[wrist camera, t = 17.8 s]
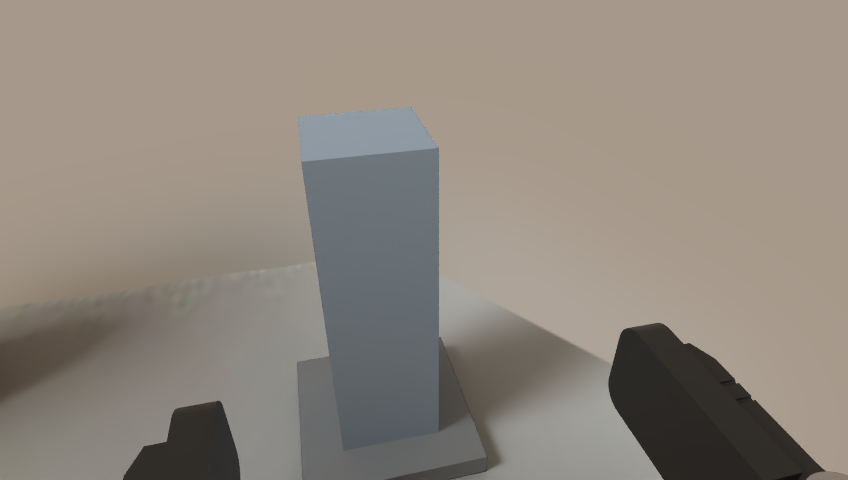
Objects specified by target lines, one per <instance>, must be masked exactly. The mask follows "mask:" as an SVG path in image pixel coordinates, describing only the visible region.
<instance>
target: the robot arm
mask: <svg viewBox="0 0 848 480" xmlns="http://www.w3.org/2000/svg"><path fill="white" fill-rule="evenodd" d="M609 392H610V396H611V400H612V402H613V404H614V406H615V408H616V410H617V411H618V413H619V414H620V416H621V417H622V419H623V420H624V422H625V423H626V425H627V426H628V428H629V429H630V430H631V432H632V433H633V435H634V436H635V438H636V439H637V441H638V442H639V444H640V445H641V447H642V448H643V450H644V451H645V453H646V454H647V455H648V457H649V458H650V460H651V461H652V463H653V464H654V466H655V467H656V469H657V470H658V472H659V473H660V475H661V476H662V478H663V479H664V480H848V476H847V475H845V474H841V473H837V472H826V471H825V470H824V469H822V468H821V467H820V466H819V465H818V464H817V463H816V462H815V461H814V460H813V459H812V458H811V457H810V456H809V455H808V454H807V453H806V452H805V451H804V450H803V449H802V448H801V447H800V446H799V445H798V444H797V443H796V442H795V441H794V439H793V438H792V437H791V436H789V434H788V433H787V432H786V431H785V430H784V429H783V428H782V427H781V426H780V425H779V424H778V423H777V422H776V421H775V420H774V419H773V418H772V417H771V416H770V415H769V414H768V413H767V412H766V411H765V410H764V409H763V408H762V407H761V406H760V405H759V404H758V402H757V401H756V400H754V401H753V400H752V399H751V395H750V394H749V393H748V392H747V391H746V390H745V389H744V388H743V387H742V386H741V385H740V384H739V383H738V384H736V383H735V379H734V378H733V377H732V376H731V375H730V374H729V373H728V372H727V371H726V370H725V369H724V367H723V366H722V365H721V364H719V362H718V361H717V360H716V359H714V358H713V357H711V356H710V355H708V354H706V353H705V352H703V351H701V350H700V349H698V348H697V347H695V346H693V345H692V344H690V343H688V344H683V343H682V342H681V341H680V340H679V339H678V338H677V337H676V336H675V334H674V333H673V332H672V331H671V330H670V329H669V328H668V327H667V326H665V325H664V324H661V323H655V324H649V325H644V326H638V327H632V328H627V329H624V330H623V331H622V333H621V335H620V338H619V342H618V346H617V349H616V353H615V357H614V361H613V365H612V369H611V372H610V376H609ZM123 480H240V467H239V460H238V454H237V451H236V447H235V444H234V441H233V438H232V434H231V431H230V428H229V425H228V421H227V418H226V415H225V412H224V408H223V405H222V403H221V402H220V401H216V402H210V403H205V404H199V405H193V406H188V407H182V408H177V409H175V410H174V412H173V415H172V418H171V423H170V428H169V433H168V438H167V442H164V443H159V444H154V445H149V446H144V447H143V449H142V450H141V452H140V453H139V455H138V456H137V458H136V459H135V460H134V462H133V463H132V465H131V466H130V468H129V469H128V471H127V472H126V474H125V475H124V478H123Z"/></svg>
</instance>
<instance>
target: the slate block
mask: <svg viewBox="0 0 848 480" xmlns="http://www.w3.org/2000/svg"><path fill="white" fill-rule="evenodd" d="M298 127H299V138H300V152H301V163H302V170H303V177H304V184H305V190H306V197H307V204H308V211H309V218H310V225H311V231H312V238H313V245H314V252H315V259H316V266H317V273H318V279H319V286H320V293H321V300H322V307H323V313H324V320H325V327H326V334H327V341H328V348H329V354H330V361H331V368H332V375H333V382H334V389H335V395H336V402H337V409H338V416H339V423H340V430H341V436H342V443H343V450H344V451H345V450H350V449H355V448H360V447H365V446H370V445H375V444H380V443H385V442H390V441H395V440H400V439H405V438H410V437H415V436H420V435H425V434H430V433H435V432H439V147H438V146H437V145H436V143H435V141H434V140H433V139H432V137H431V136H430V134H429V133H428V131H427V130H426V128H425V127H424V125H423V124H422V122H421V121H420V119H419V118H418V116H417V115H416V113H415V112H414V110H413V109H412V107H406V108H394V109H383V110H371V111H359V112H347V113H335V114H323V115H312V116H300V117H298Z"/></svg>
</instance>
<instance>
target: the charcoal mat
mask: <svg viewBox="0 0 848 480" xmlns="http://www.w3.org/2000/svg"><path fill="white" fill-rule="evenodd" d="M297 371H298V392H299V413H300V434H301V456H302V477H303V480H418V479H423V478H427V480H448V479H452V478H457V477H461V476H466V475H470V474H474V473H479V472H483V471H486V466H487V455H486V452H485V450H484V447H483V445H482V442H481V440H480V437H479V434H478V432H477V429H476V427H475V424H474V422H473V419H472V417H471V414H470V411H469V409H468V406H467V404H466V401H465V399H464V396H463V393H462V391H461V388H460V386H459V383H458V381H457V378H456V375H455V373H454V370H453V368H452V365H451V363H450V360H449V357H448V355H447V352H446V350H445V347H444V345H443V342H442V339H441V337H439V432H435V433H430V434H425V435H420V436H415V437H410V438H405V439H400V440H395V441H390V442H385V443H380V444H375V445H370V446H365V447H360V448H355V449H350V450H345V451H344V450H343V443H342V436H341V430H340V423H339V416H338V409H337V402H336V395H335V389H334V382H333V375H332V368H331V361H330V357H324V358H318V359H312V360H307V361H301V362H297Z"/></svg>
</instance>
